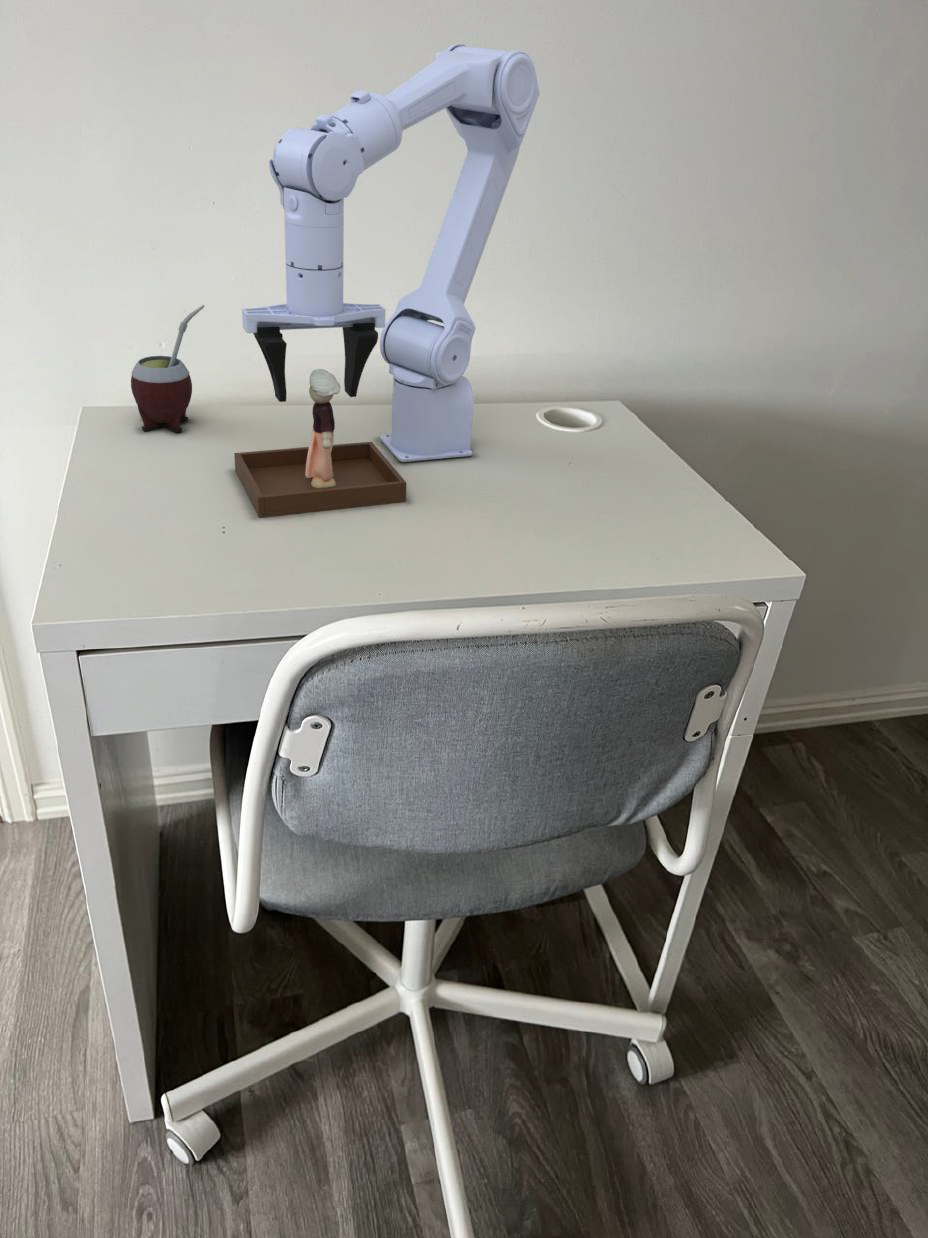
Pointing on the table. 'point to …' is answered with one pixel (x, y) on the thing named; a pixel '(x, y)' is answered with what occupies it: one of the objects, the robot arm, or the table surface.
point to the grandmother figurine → (321, 429)
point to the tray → (287, 490)
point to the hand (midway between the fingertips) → (316, 396)
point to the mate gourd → (163, 387)
